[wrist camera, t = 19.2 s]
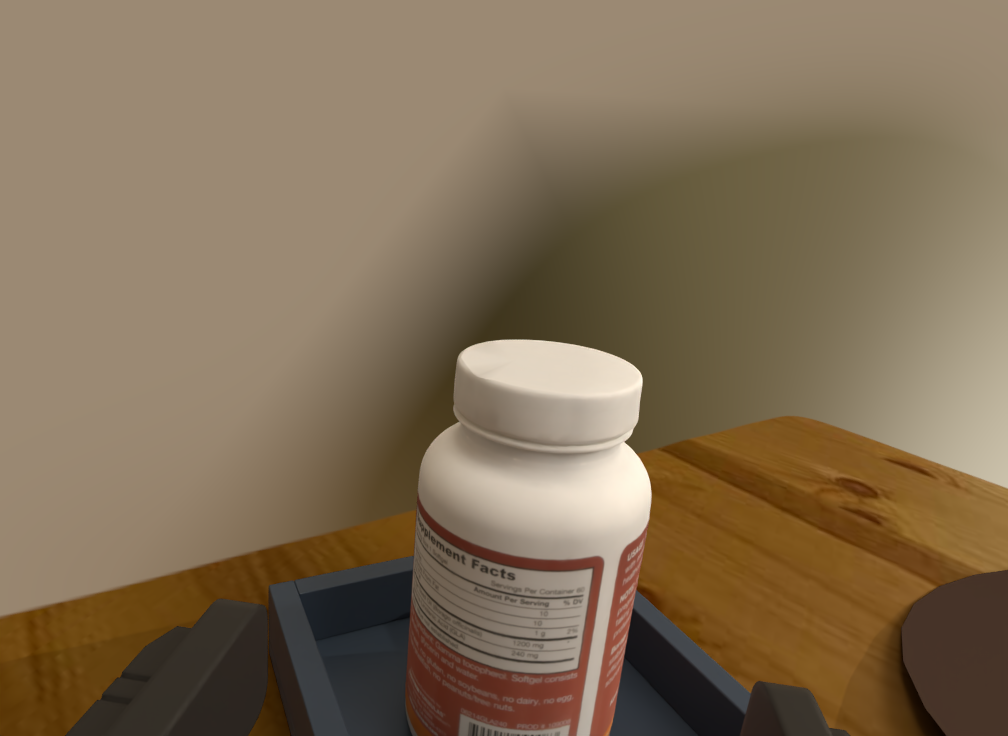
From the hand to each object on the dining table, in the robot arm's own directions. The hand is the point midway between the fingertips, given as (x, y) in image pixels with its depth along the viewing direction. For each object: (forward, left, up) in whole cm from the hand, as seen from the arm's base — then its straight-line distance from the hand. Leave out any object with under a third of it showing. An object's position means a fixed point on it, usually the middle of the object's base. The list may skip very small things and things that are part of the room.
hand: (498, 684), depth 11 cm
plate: (+27, -9, -8) cm, 30 cm away
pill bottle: (+4, +6, -8) cm, 10 cm away
